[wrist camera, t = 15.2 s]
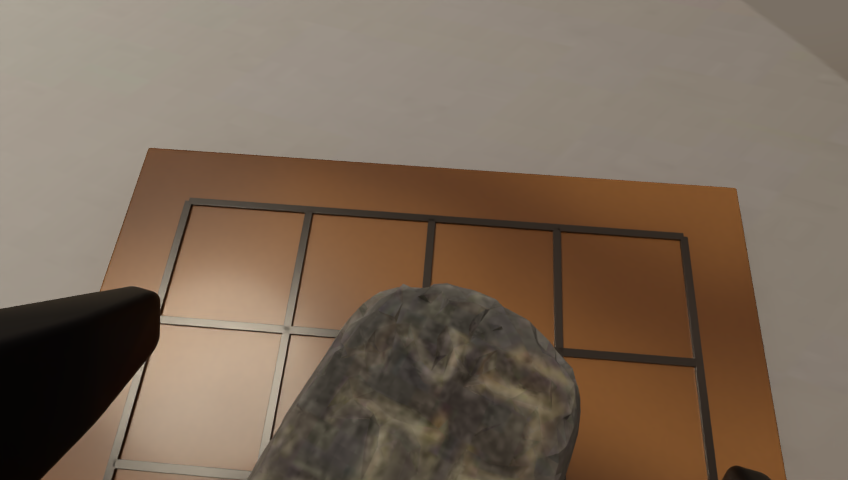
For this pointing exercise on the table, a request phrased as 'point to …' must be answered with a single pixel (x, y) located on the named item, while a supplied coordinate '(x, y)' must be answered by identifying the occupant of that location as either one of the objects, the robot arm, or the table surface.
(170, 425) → the grid board
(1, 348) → the robot arm
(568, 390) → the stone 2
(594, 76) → the table surface
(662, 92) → the table surface
